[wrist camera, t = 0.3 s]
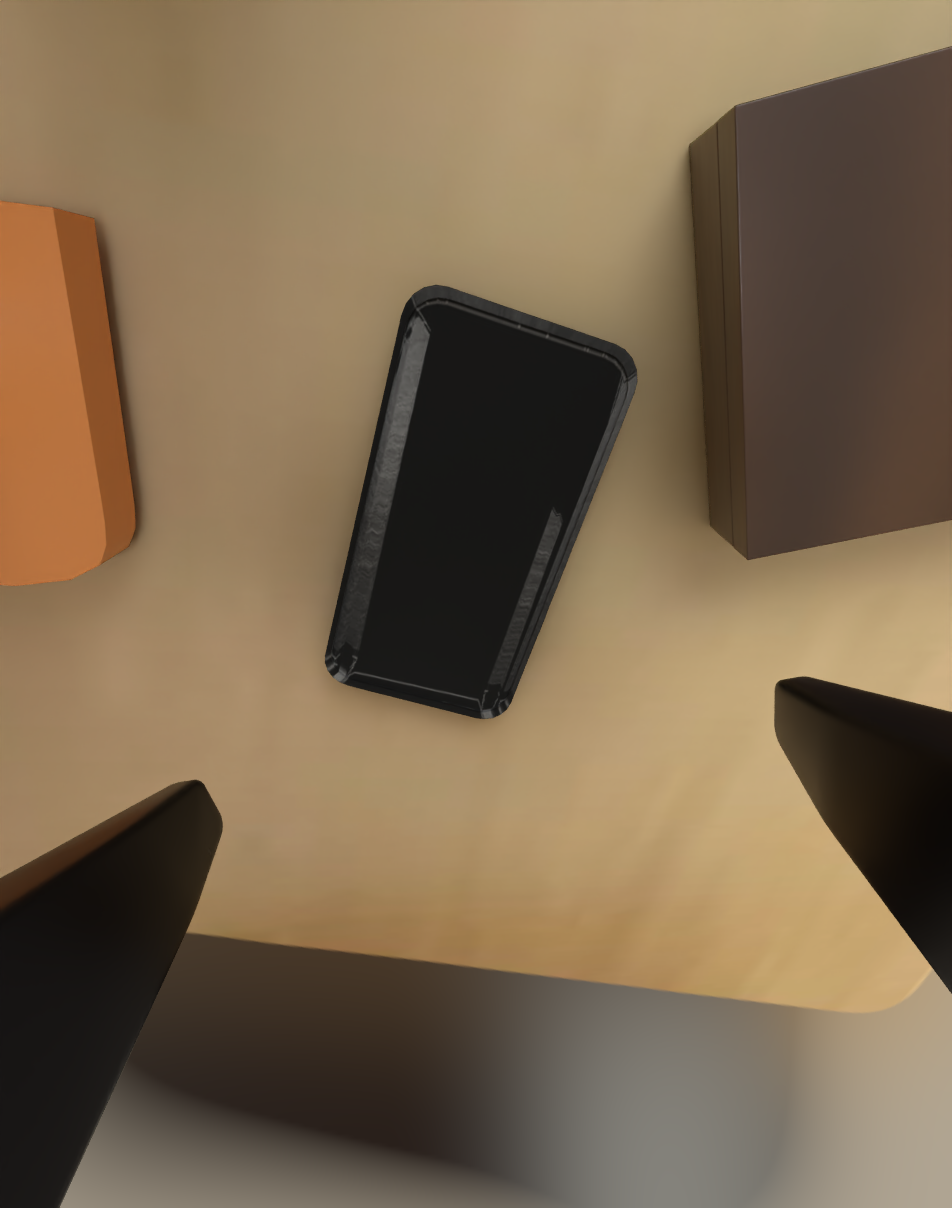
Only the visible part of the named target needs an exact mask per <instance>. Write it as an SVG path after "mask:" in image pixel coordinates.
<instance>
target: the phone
mask: <svg viewBox="0 0 952 1208" xmlns="http://www.w3.org/2000/svg"><path fill="white" fill-rule="evenodd" d="M636 385H637V369H636V366H635V364H634V361H633V358H632V357H631V356H630V355H629V354H628V353H627V351H626V350H625V349H623V348H621V347H619V346H618V345H616V344H613V343H611V342H608V341H605V340H602V339H599V338H596V337H593V336H590V335H587V334H584V333H581V332H578V331H576V330H573V329H570V328H567V327H564V326H561V325H558V324H555V323H552V322H549V321H546V320H543V319H540V318H538V317H535V316H532V315H529V314H526V313H523V312H520V311H517V310H514V309H511V308H508V307H505V306H503V305H500V304H497V303H494V302H491V301H488V300H485V299H482V298H479V297H476V296H473V295H470V294H468V293H465V292H462V291H459V290H456V289H453V288H450V287H446V286H440V285H433V286H428V287H424V288H422V289H421V290H419V291H417V292H416V293H414V294H413V295H412V297H411V298H410V299H409V300H408V302H407V303H406V305H405V307H404V310H403V312H402V315H401V319H400V324H399V328H398V333H397V337H396V342H395V346H394V351H393V355H392V359H391V364H390V368H389V373H388V377H387V382H386V386H385V391H384V395H383V400H382V404H381V408H380V413H379V417H378V422H377V426H376V431H375V435H374V440H373V444H372V449H371V453H370V458H369V462H368V466H367V471H366V475H365V480H364V484H363V489H362V493H361V498H360V502H359V507H358V511H357V515H356V520H355V524H354V529H353V533H352V538H351V542H350V547H349V551H348V556H347V560H346V565H345V569H344V573H343V578H342V582H341V587H340V591H339V596H338V600H337V605H336V609H335V614H334V618H333V623H332V627H331V631H330V636H329V640H328V645H327V649H326V654H325V664H326V667H327V670H328V671H329V673H330V674H331V675H332V677H333V678H335V679H336V680H337V681H339V682H340V683H343V684H345V685H348V686H352V687H356V688H360V689H364V690H368V691H371V692H375V693H379V694H383V695H387V696H391V697H395V698H399V699H403V700H407V701H411V702H415V703H419V704H423V705H426V706H430V707H434V708H438V709H442V710H446V711H450V712H454V713H458V714H462V715H466V716H470V717H474V718H480V719H488V718H494V717H496V716H498V715H501V714H502V713H503V712H504V711H506V710H507V708H508V707H509V705H510V704H511V701H512V699H513V696H514V694H515V691H516V689H517V686H518V684H519V681H520V679H521V676H522V674H523V671H524V669H525V666H526V664H527V661H528V659H529V656H530V654H531V651H532V649H533V646H534V644H535V641H536V639H537V636H538V634H539V632H540V629H541V627H542V624H543V622H544V619H545V617H546V614H547V611H548V609H549V606H550V604H551V601H552V599H553V596H554V594H555V591H556V588H557V586H558V583H559V581H560V578H561V576H562V573H563V571H564V568H565V566H566V563H567V561H568V558H569V556H570V553H571V551H572V548H573V546H574V543H575V541H576V538H577V536H578V533H579V531H580V528H581V526H582V523H583V521H584V518H585V516H586V513H587V511H588V508H589V506H590V503H591V501H592V498H593V496H594V493H595V491H596V488H597V486H598V483H599V481H600V478H601V476H602V473H603V471H604V468H605V466H606V463H607V461H608V458H609V456H610V453H611V451H612V448H613V446H614V443H615V441H616V438H617V436H618V433H619V431H620V428H621V426H622V423H623V421H624V418H625V416H626V413H627V411H628V408H629V406H630V403H631V400H632V398H633V395H634V393H635V389H636Z"/></svg>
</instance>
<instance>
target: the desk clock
mask: <svg viewBox="0 0 952 1208" xmlns="http://www.w3.org/2000/svg"><path fill="white" fill-rule="evenodd" d="M134 531H135V506H134V499H133V491H132V483H131V476H130V469H129V462H128V455H127V448H126V441H125V434H124V427H123V420H122V413H121V406H120V399H119V392H118V384H117V377H116V370H115V363H114V356H113V349H112V342H111V335H110V328H109V321H108V314H107V307H106V300H105V293H104V286H103V279H102V271H101V264H100V257H99V250H98V243H97V236H96V229H95V222H94V218H90V217H86V216H82V215H79V214H75V213H71V212H67V211H63V210H60V209H56V208H51V207H43V206H35V205H28V204H20V203H12V202H4V201H0V585H8V586H19V585H28V584H37V583H46V582H55V581H64V580H71V579H73V578H75V577H77V576H79V575H81V574H83V573H85V572H87V571H89V570H91V569H93V568H95V567H97V566H99V565H101V564H102V563H104V562H105V561H107V560H108V559H110V558H112V557H113V556H115V555H116V554H118V553H119V552H121V551H122V550H124V549H126V548H127V547H129V545H130V542H131V539H132V536H133V533H134Z"/></svg>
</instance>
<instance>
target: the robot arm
mask: <svg viewBox="0 0 952 1208" xmlns="http://www.w3.org/2000/svg"><path fill="white" fill-rule="evenodd" d="M774 726H775V732H776V736H777V739H778V742H779V744H780V746H781V747H782V749H783V751H784V753H785V754H786V756H787V758H788V760H789V761H790V763H791V765H792V767H793V768H794V770H795V772H796V774H797V775H798V777H799V779H800V781H801V782H802V784H803V786H804V788H805V790H806V791H807V793H808V795H809V797H810V798H811V800H812V802H813V804H814V805H815V807H816V809H817V810H818V812H819V814H820V815H821V817H822V819H823V820H824V822H825V823H826V825H827V826H828V828H829V829H830V830H831V832H832V833H833V835H834V836H835V837H836V839H837V840H838V841H839V843H840V844H841V846H842V847H843V848H844V850H845V851H846V852H847V854H848V855H849V856H850V858H851V859H852V860H853V862H854V863H855V864H856V866H857V867H858V868H859V870H860V871H861V872H862V874H863V875H864V876H865V878H866V879H867V880H868V882H869V883H870V885H871V886H872V887H873V889H874V890H875V891H876V893H877V894H878V895H879V897H880V898H881V899H882V901H883V902H884V903H885V905H886V906H887V907H888V909H889V910H890V911H891V913H892V914H893V915H894V917H895V918H896V919H897V921H898V922H899V924H900V925H901V926H902V928H903V929H904V930H905V932H906V933H907V934H908V936H909V937H910V938H911V940H912V941H913V942H914V944H915V945H916V946H917V948H918V949H919V950H920V952H921V953H922V954H923V956H924V957H925V959H926V960H927V961H928V963H929V964H930V965H931V967H932V968H933V969H934V971H935V972H936V973H937V975H938V976H939V977H940V979H941V980H942V981H943V983H944V984H945V985H946V987H947V988H948V989H949V991H950V992H951V993H952V712H949V711H945V710H941V709H937V708H933V707H929V706H925V705H921V704H917V703H913V702H909V701H904V700H900V699H896V698H892V697H888V696H884V695H880V694H876V693H872V692H868V691H864V690H860V689H856V688H851V687H847V686H843V685H839V684H835V683H831V682H827V681H823V680H819V679H815V678H811V677H803V676H802V677H796V678H790V679H784V680H780V681H778V682H777V684H776V686H775V713H774ZM222 828H223V823H222V818H221V815H220V813H219V811H218V809H217V807H216V805H215V803H214V802H213V800H212V798H211V796H210V794H209V792H208V791H207V789H206V787H205V785H204V784H203V783H202V782H201V781H199V780H190V781H184V782H178V783H175V784H172V785H170V786H168V787H166V788H164V789H163V790H161V791H159V792H157V793H155V794H153V795H152V796H150V797H148V798H146V799H144V800H142V801H141V802H139V803H137V804H135V805H133V806H131V807H130V808H128V809H126V810H124V811H122V812H121V813H119V814H117V815H115V816H113V817H111V818H110V819H108V820H106V821H104V822H102V823H100V824H99V825H97V826H95V827H93V828H91V829H89V830H88V831H86V832H84V833H82V834H80V835H78V836H77V837H75V838H73V839H71V840H69V841H67V842H66V843H64V844H62V845H60V846H58V847H56V848H55V849H53V850H51V851H49V852H47V853H46V854H44V855H42V856H40V857H38V858H36V859H35V860H33V861H31V862H29V863H27V864H25V865H24V866H22V867H20V868H18V869H16V870H14V871H13V872H11V873H9V874H7V875H5V876H3V877H2V878H0V1208H60V1205H61V1203H62V1201H63V1199H64V1197H65V1195H66V1192H67V1190H68V1188H69V1186H70V1184H71V1182H72V1179H73V1177H74V1175H75V1173H76V1171H77V1168H78V1166H79V1164H80V1162H81V1159H82V1158H83V1155H84V1153H85V1151H86V1149H87V1146H88V1145H89V1142H90V1140H91V1138H92V1136H93V1134H94V1131H95V1129H96V1127H97V1125H98V1123H99V1120H100V1118H101V1116H102V1114H103V1112H104V1110H105V1108H106V1105H107V1103H108V1101H109V1099H110V1096H111V1094H112V1092H113V1090H114V1087H115V1086H116V1084H117V1081H118V1079H119V1077H120V1075H121V1072H122V1070H123V1068H124V1066H125V1064H126V1062H127V1060H128V1057H129V1055H130V1053H131V1051H132V1048H133V1047H134V1044H135V1042H136V1040H137V1038H138V1036H139V1033H140V1031H141V1029H142V1027H143V1025H144V1023H145V1020H146V1018H147V1016H148V1014H149V1012H150V1009H151V1007H152V1005H153V1003H154V1001H155V999H156V996H157V994H158V992H159V990H160V988H161V986H162V983H163V981H164V979H165V977H166V975H167V972H168V970H169V968H170V966H171V964H172V962H173V959H174V957H175V955H176V953H177V951H178V948H179V946H180V944H181V942H182V940H183V938H184V935H185V933H186V931H187V929H188V926H189V924H190V922H191V920H192V917H193V915H194V912H195V910H196V907H197V904H198V901H199V899H200V896H201V893H202V890H203V887H204V884H205V881H206V878H207V875H208V873H209V870H210V867H211V864H212V861H213V858H214V855H215V852H216V849H217V846H218V843H219V841H220V838H221V834H222Z"/></svg>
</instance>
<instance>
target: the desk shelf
mask: <svg viewBox="0 0 952 1208" xmlns="http://www.w3.org/2000/svg"><path fill="white" fill-rule="evenodd" d="M689 147H690V165H691V183H692V201H693V219H694V237H695V256H696V274H697V292H698V310H699V328H700V346H701V364H702V382H703V400H704V419H705V437H706V455H707V473H708V491H709V509H710V526H711V527H712V528H713V529H714V530H715V531H716V532H717V533H718V534H720V535H721V536H722V537H723V538H724V539H725V540H726V541H727V542H729V543H730V544H731V545H732V546H733V547H734V548H735V549H736V550H737V551H738V552H739V553H740V554H741V555H743V556H744V557H745V558H746V559H747V560H751V559H756V558H761V557H766V556H771V555H776V554H781V553H786V552H791V551H796V550H802V549H807V548H812V547H817V546H822V545H827V544H832V543H837V542H842V541H847V540H852V539H857V538H862V537H867V536H873V535H878V534H883V533H888V532H893V531H898V530H903V529H908V528H913V527H918V526H923V525H928V524H933V523H938V522H944V521H949V520H952V46H951V47H947V48H944V49H940V50H936V51H933V52H929V53H925V54H922V55H918V56H914V57H911V58H907V59H903V60H900V61H896V62H892V63H889V64H885V65H881V66H878V67H874V68H870V69H867V70H863V71H859V72H856V73H852V74H848V75H845V76H841V77H837V78H834V79H830V80H826V81H823V82H819V83H815V84H812V85H808V86H804V87H801V88H797V89H793V90H790V91H786V92H783V93H779V94H775V95H772V96H768V97H764V98H761V99H757V100H753V101H750V102H746V103H742V104H739V105H736V106H734V107H733V108H732V109H731V110H730V111H728V112H727V113H726V114H725V115H724V116H723V117H721V118H720V119H719V120H718V121H717V122H716V123H715V124H714V125H712V126H711V127H710V128H709V129H708V130H706V131H705V132H704V133H703V134H702V135H700V136H699V137H698V138H697V139H696V140H695V141H693V142H692V143H691V144H690V146H689Z"/></svg>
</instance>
